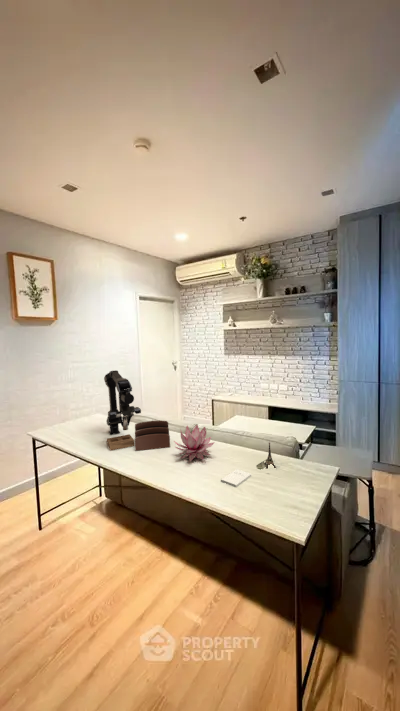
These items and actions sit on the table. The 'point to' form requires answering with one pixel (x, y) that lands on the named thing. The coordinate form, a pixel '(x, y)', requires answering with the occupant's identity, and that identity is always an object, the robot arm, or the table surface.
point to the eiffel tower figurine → (268, 461)
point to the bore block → (120, 442)
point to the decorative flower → (195, 443)
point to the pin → (125, 422)
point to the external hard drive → (236, 478)
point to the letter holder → (151, 435)
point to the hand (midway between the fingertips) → (125, 426)
